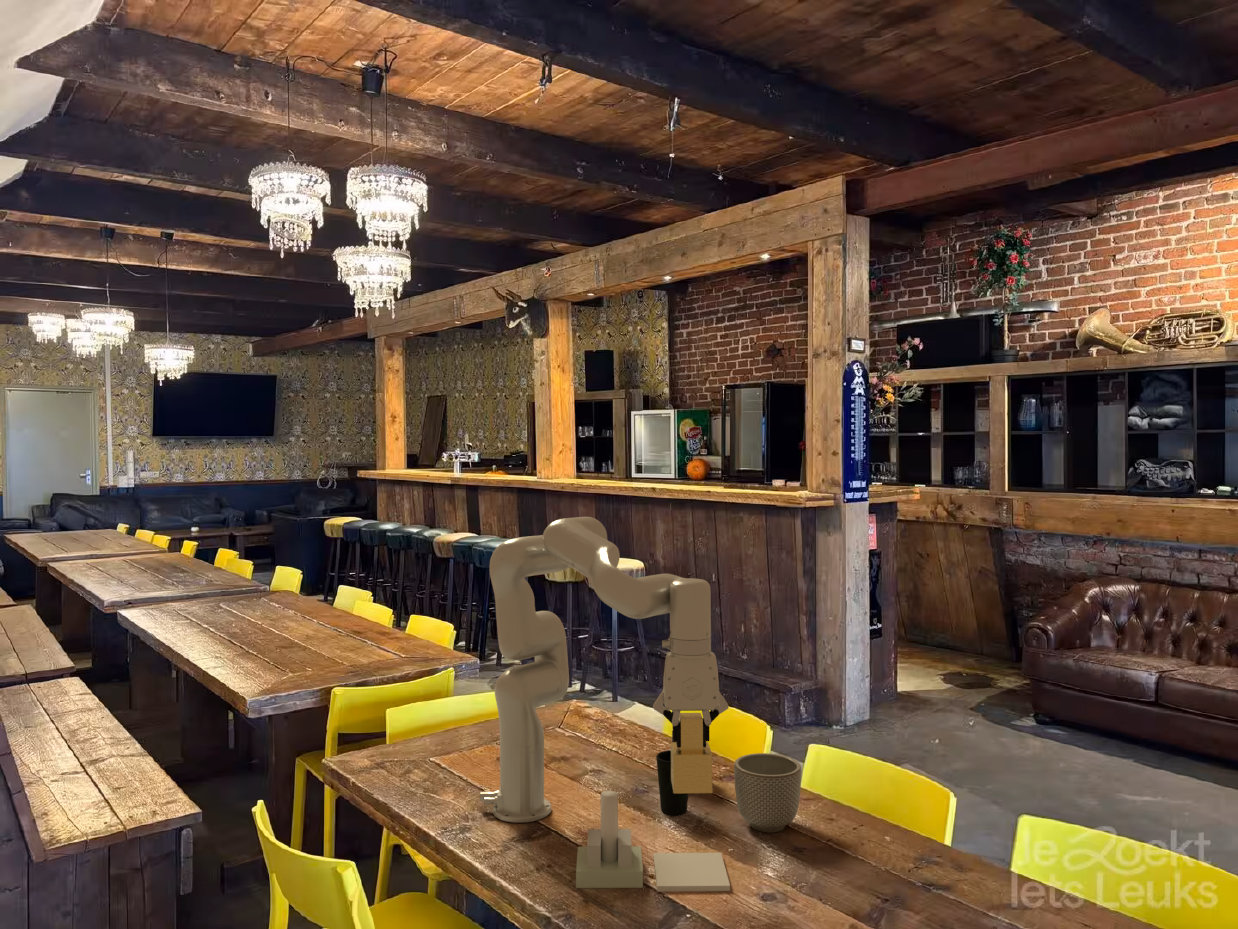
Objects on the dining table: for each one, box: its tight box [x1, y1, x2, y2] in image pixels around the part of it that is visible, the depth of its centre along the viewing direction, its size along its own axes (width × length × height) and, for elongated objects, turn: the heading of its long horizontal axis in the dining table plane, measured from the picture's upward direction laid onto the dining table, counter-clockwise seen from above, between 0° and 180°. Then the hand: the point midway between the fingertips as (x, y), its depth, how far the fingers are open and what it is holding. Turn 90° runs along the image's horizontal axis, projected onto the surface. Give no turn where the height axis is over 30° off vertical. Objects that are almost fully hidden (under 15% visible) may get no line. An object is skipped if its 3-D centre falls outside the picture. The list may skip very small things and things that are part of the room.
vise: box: [575, 790, 644, 889], centre depth 166 cm, size 12×10×15 cm
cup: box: [655, 749, 689, 817], centre depth 195 cm, size 8×8×12 cm
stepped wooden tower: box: [670, 712, 713, 794], centre depth 166 cm, size 7×7×13 cm
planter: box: [733, 752, 802, 833], centre depth 187 cm, size 14×14×13 cm
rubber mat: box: [653, 852, 731, 893], centre depth 166 cm, size 13×13×1 cm
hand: (691, 744), depth 166 cm, fingers closed on stepped wooden tower, 4 cm apart
